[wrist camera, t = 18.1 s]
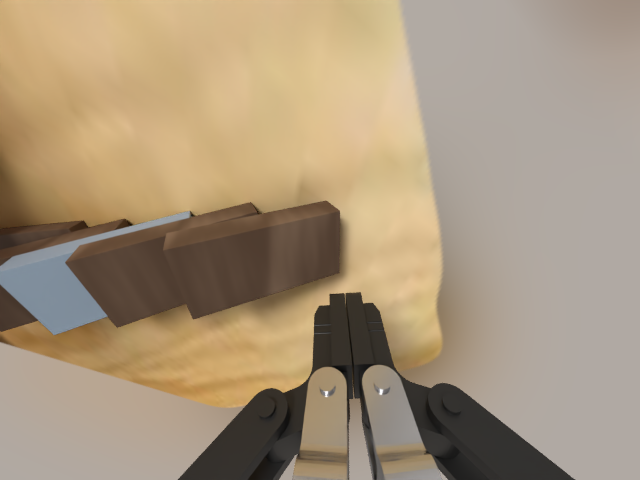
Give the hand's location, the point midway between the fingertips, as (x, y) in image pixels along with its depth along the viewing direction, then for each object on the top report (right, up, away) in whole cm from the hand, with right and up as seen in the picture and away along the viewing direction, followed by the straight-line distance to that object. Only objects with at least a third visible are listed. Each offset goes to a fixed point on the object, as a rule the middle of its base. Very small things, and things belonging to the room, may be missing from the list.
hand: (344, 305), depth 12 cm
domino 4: (-5, +3, +6) cm, 9 cm away
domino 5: (0, +3, +6) cm, 7 cm away
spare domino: (-10, +3, +6) cm, 12 cm away
